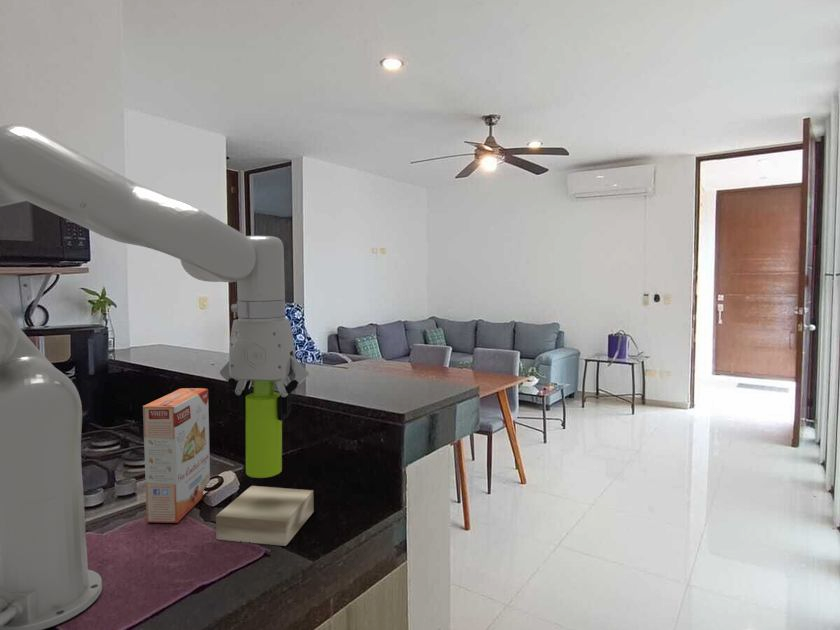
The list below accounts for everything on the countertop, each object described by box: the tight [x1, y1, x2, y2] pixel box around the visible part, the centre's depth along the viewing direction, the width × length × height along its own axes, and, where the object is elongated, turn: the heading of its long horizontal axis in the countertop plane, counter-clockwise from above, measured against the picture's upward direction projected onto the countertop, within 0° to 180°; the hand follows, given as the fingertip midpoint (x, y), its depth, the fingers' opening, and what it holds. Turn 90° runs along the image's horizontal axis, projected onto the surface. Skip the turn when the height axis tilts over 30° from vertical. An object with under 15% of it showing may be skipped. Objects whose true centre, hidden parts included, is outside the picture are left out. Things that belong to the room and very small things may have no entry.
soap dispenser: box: [245, 381, 283, 479], centre depth 89 cm, size 6×7×20 cm
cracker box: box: [142, 387, 211, 524], centre depth 97 cm, size 14×6×21 cm, turn 179°
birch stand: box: [215, 485, 315, 547], centre depth 91 cm, size 12×12×4 cm
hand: (265, 416), depth 89 cm, fingers closed on soap dispenser, 6 cm apart
